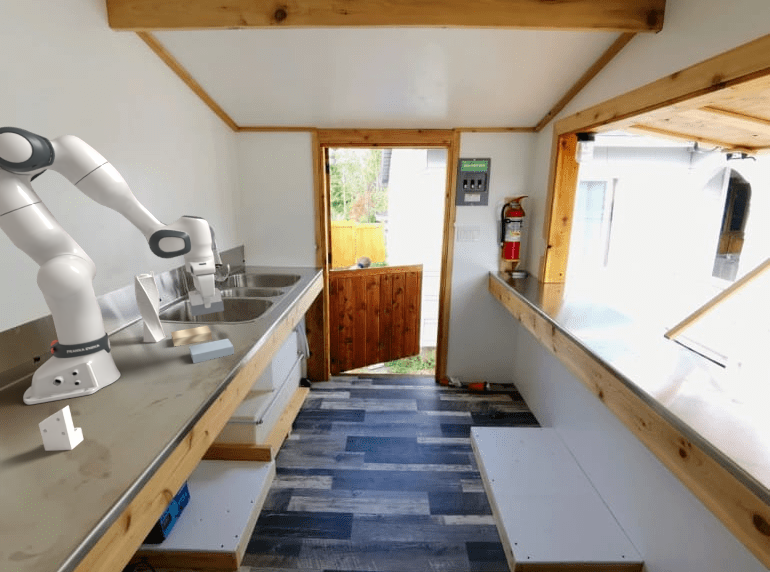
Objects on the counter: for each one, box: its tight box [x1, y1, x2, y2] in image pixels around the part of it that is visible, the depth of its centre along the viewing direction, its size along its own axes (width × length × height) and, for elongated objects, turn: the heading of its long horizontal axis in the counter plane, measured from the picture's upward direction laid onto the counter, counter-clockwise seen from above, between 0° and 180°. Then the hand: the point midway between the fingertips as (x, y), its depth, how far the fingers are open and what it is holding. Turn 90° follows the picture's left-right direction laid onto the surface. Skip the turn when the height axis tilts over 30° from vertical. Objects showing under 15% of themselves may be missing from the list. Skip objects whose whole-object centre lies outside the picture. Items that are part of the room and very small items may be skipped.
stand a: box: [170, 325, 213, 348], centre depth 149 cm, size 13×9×3 cm
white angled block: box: [38, 404, 85, 452], centre depth 86 cm, size 4×10×9 cm
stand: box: [188, 338, 235, 364], centre depth 135 cm, size 13×9×3 cm
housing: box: [187, 287, 225, 317], centre depth 131 cm, size 10×6×7 cm, turn 123°
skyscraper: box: [134, 269, 169, 344], centre depth 146 cm, size 8×8×28 cm
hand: (205, 304), depth 131 cm, fingers closed on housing, 6 cm apart
